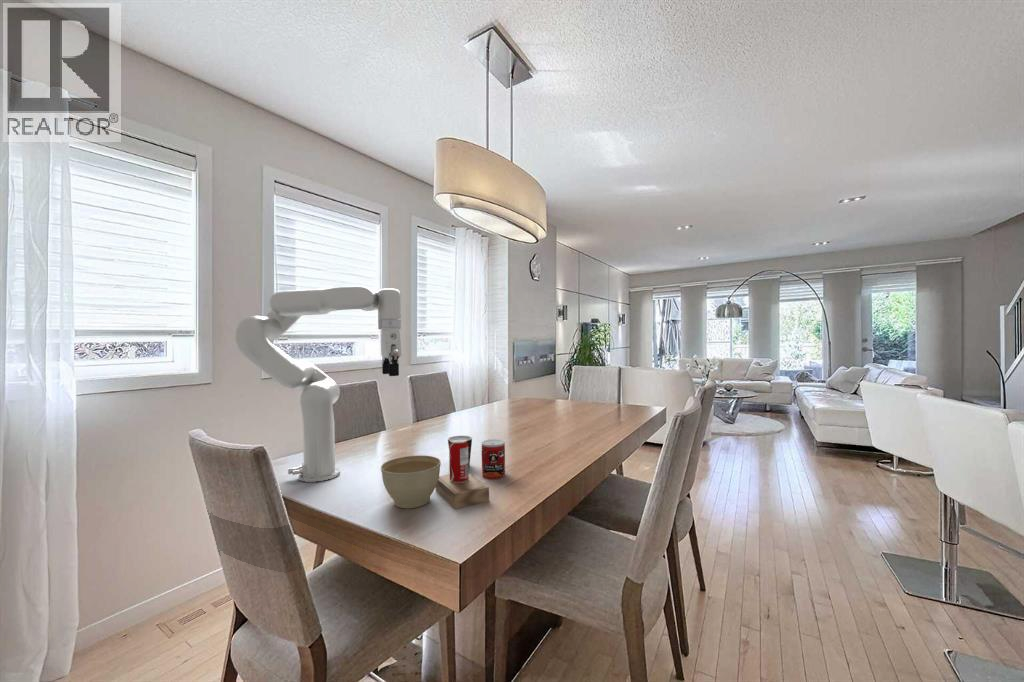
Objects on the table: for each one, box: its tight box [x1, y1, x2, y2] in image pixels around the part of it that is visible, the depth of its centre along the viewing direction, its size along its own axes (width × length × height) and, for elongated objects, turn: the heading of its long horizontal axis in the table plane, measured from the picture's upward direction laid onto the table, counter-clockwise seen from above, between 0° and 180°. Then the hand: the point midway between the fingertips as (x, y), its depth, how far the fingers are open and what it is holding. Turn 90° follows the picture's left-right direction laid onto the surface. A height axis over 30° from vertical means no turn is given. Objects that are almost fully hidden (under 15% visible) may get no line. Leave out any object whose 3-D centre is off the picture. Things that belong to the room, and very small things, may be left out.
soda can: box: [448, 438, 470, 483], centre depth 120 cm, size 6×6×12 cm
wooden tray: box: [435, 473, 490, 510], centre depth 119 cm, size 10×16×4 cm, turn 29°
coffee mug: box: [447, 435, 473, 467], centre depth 148 cm, size 12×9×10 cm
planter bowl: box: [380, 454, 442, 509], centre depth 115 cm, size 16×16×11 cm
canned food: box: [481, 438, 506, 480], centre depth 137 cm, size 8×8×11 cm
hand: (390, 374), depth 142 cm, fingers open, 9 cm apart
